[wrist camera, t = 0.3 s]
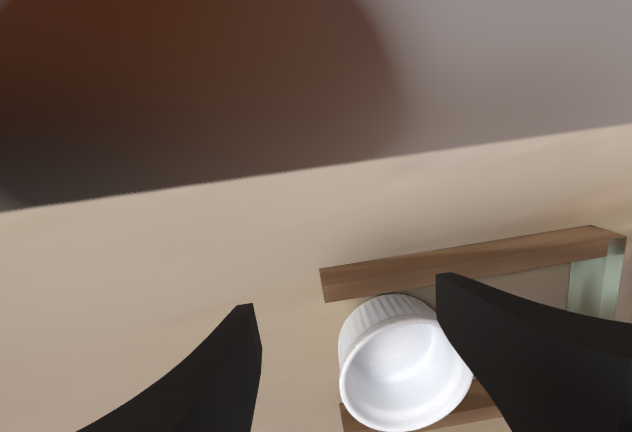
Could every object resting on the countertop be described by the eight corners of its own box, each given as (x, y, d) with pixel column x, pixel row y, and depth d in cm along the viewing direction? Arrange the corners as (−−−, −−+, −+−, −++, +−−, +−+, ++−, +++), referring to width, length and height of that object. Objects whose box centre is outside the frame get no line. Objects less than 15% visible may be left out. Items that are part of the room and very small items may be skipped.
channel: (573, 373, 26) (601, 398, 24) (341, 415, 25) (346, 445, 23) (590, 225, 22) (626, 236, 20) (319, 268, 22) (322, 286, 19)
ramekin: (438, 273, 23) (471, 306, 18) (447, 369, 25) (479, 417, 21) (321, 299, 22) (327, 338, 18) (342, 394, 25) (352, 446, 21)
